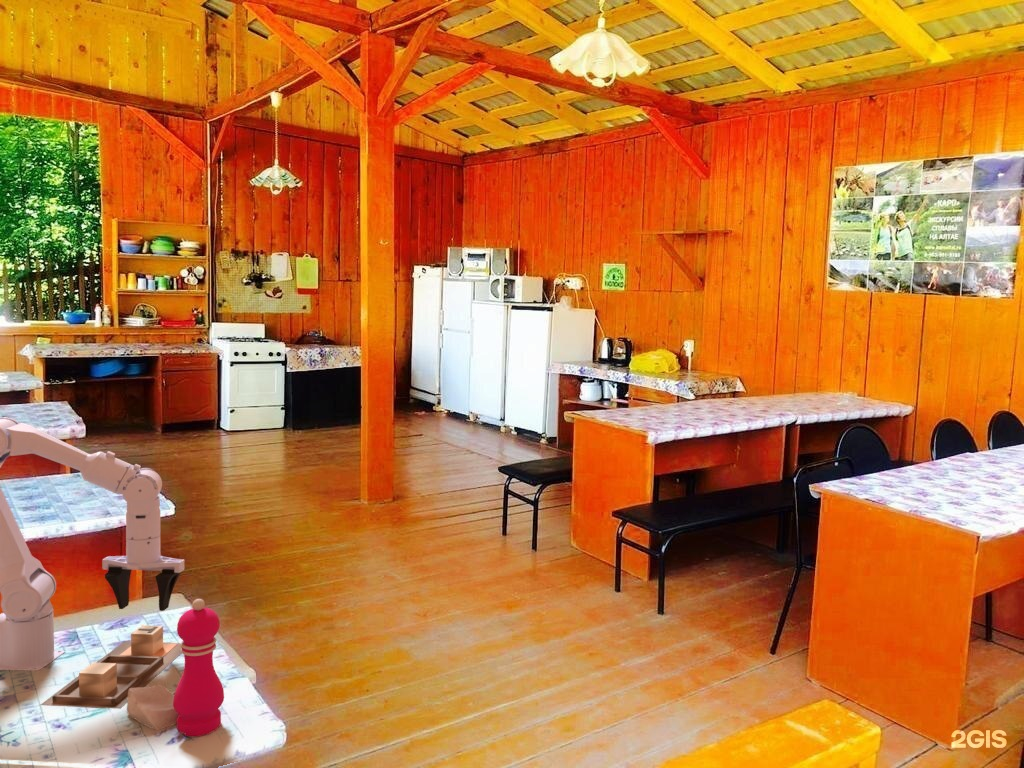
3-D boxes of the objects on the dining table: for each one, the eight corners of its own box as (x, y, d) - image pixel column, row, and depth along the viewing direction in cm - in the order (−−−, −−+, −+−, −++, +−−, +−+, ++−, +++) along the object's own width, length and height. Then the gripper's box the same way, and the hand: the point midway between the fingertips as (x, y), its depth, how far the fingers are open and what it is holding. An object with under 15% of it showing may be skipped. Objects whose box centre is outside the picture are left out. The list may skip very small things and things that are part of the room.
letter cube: (131, 655, 141) (130, 633, 141) (142, 646, 145) (141, 624, 145) (152, 655, 141) (152, 634, 141) (163, 646, 145) (162, 625, 145)
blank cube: (79, 696, 126) (78, 673, 125) (93, 685, 130) (93, 662, 129) (103, 697, 125) (103, 674, 125) (116, 686, 129) (116, 663, 129)
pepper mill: (174, 743, 114) (173, 610, 112) (172, 720, 120) (171, 594, 119) (226, 732, 117) (226, 603, 115) (221, 711, 123) (221, 588, 122)
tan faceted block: (176, 746, 119) (191, 714, 119) (135, 750, 115) (150, 716, 114) (157, 703, 126) (171, 673, 126) (118, 705, 122) (132, 674, 121)
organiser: (40, 707, 123) (40, 698, 123) (124, 643, 148) (124, 635, 148) (120, 711, 122) (120, 702, 122) (191, 646, 147) (191, 638, 147)
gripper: (92, 540, 139) (93, 614, 140) (171, 543, 138) (171, 617, 139) (114, 530, 146) (114, 600, 147) (189, 533, 145) (189, 603, 146)
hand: (143, 608), depth 143 cm, fingers open, 7 cm apart
